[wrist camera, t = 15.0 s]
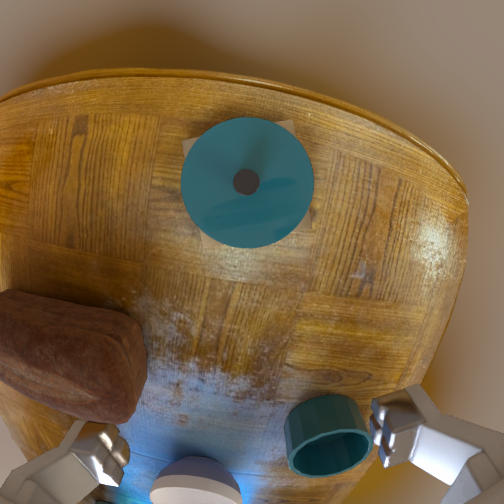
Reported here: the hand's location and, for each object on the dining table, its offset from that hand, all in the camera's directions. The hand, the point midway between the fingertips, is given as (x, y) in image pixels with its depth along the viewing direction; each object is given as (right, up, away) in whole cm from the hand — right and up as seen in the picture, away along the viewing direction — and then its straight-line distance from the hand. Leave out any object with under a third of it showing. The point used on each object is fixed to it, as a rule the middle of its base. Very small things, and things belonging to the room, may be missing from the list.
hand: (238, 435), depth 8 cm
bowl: (-9, -35, +36) cm, 51 cm away
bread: (-27, -7, +29) cm, 40 cm away
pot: (+12, -22, +33) cm, 41 cm away
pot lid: (0, +13, +22) cm, 26 cm away
